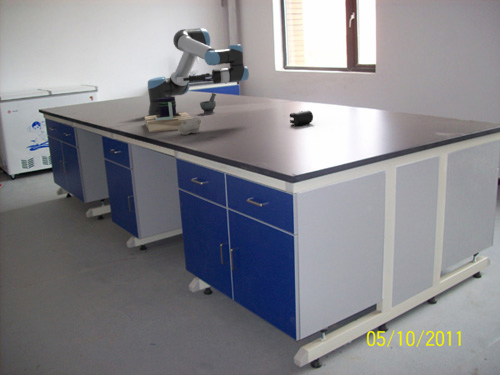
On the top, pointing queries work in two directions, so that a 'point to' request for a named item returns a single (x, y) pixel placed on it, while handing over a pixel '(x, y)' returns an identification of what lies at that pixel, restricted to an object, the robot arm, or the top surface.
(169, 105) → the cover
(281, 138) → the top surface
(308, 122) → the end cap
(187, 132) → the fossil replica
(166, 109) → the dark blue barrel
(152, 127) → the puzzle board
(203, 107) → the mortar and pestle
